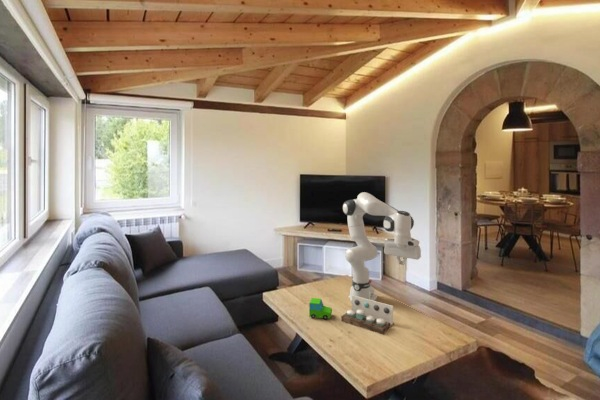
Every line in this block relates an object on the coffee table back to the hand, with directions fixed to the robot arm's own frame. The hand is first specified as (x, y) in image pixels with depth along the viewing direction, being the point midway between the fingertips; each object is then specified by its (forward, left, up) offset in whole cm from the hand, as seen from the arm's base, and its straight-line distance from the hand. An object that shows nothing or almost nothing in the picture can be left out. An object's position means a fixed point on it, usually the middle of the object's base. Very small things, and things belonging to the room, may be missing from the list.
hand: (401, 264), depth 195 cm
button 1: (+5, -29, -38) cm, 48 cm away
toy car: (+12, -46, -40) cm, 62 cm away
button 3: (+5, -16, -38) cm, 42 cm away
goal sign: (-4, -19, -39) cm, 44 cm away
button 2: (+5, -22, -36) cm, 43 cm away
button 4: (+5, -9, -38) cm, 40 cm away
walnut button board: (+5, -19, -39) cm, 44 cm away
